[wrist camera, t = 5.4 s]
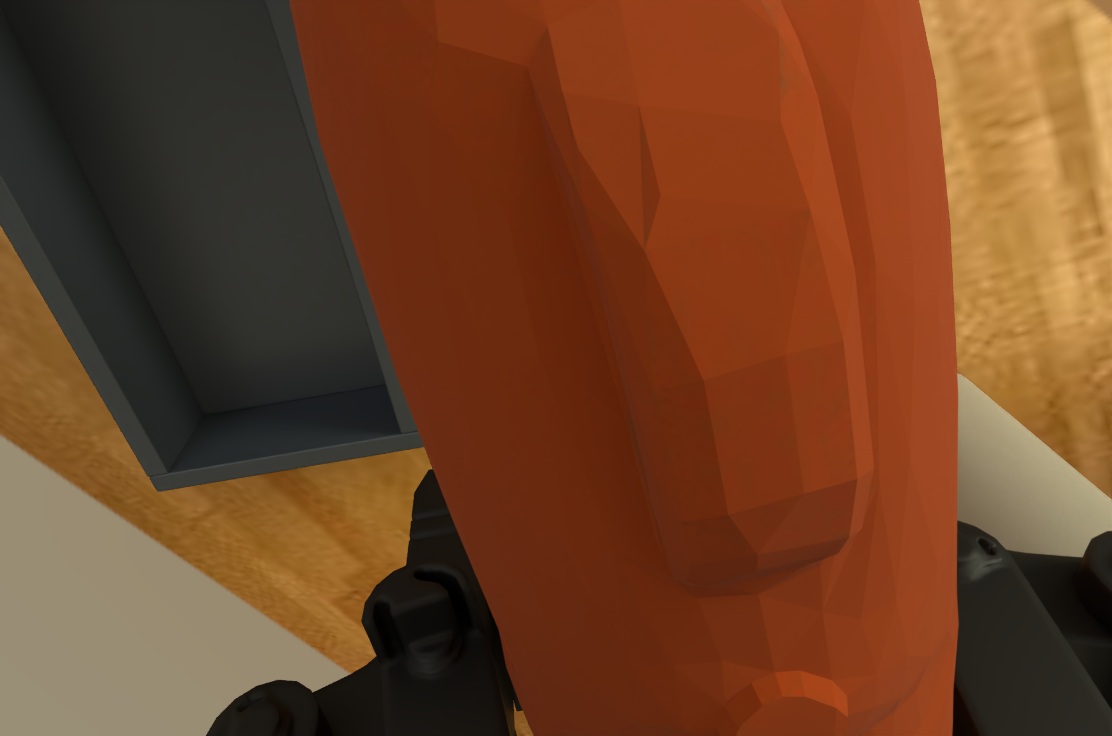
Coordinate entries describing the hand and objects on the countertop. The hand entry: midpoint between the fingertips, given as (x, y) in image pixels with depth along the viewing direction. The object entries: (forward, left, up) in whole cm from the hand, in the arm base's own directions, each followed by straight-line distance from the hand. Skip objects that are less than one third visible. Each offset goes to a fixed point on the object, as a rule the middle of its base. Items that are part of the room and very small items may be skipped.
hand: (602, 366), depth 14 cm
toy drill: (0, 0, -4) cm, 4 cm away
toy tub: (-4, -12, -14) cm, 19 cm away
